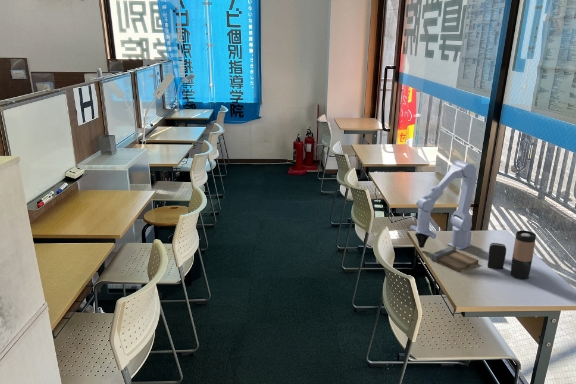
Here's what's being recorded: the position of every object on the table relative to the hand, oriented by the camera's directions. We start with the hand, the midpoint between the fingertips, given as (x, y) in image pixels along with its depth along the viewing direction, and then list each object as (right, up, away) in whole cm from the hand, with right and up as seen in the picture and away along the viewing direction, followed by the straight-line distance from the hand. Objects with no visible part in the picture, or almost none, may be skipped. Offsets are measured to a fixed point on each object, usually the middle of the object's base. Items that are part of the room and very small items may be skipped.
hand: (421, 247), depth 219 cm
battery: (+29, -7, -17) cm, 34 cm away
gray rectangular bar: (+8, -4, -7) cm, 11 cm away
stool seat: (+13, -5, -11) cm, 18 cm away
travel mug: (+36, -10, -25) cm, 45 cm away
